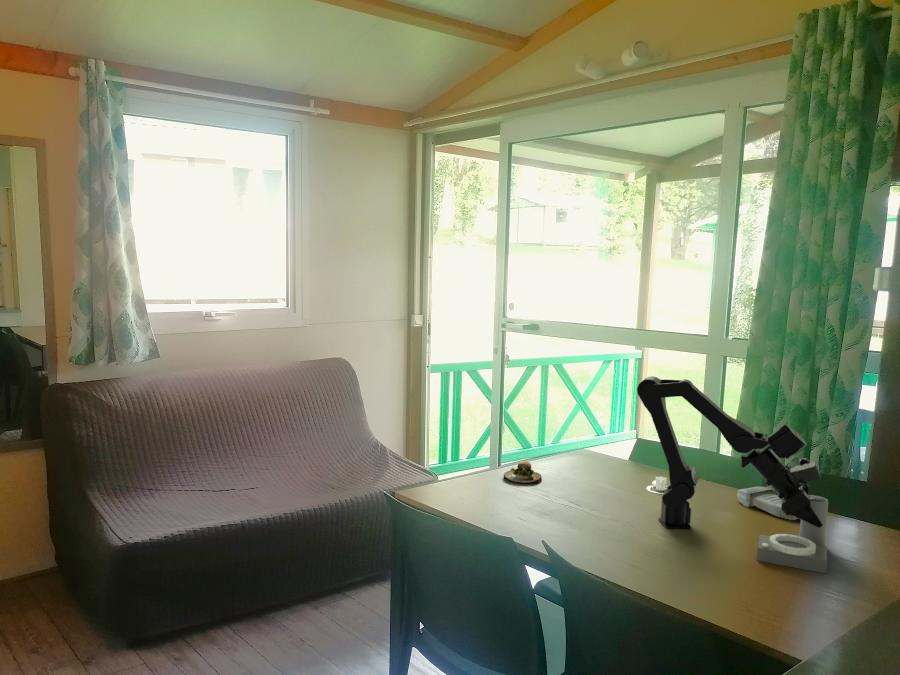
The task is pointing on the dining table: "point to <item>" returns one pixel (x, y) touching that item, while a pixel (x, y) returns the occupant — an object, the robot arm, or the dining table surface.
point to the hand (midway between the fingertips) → (820, 521)
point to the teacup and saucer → (658, 484)
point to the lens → (821, 511)
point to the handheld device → (763, 501)
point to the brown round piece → (523, 473)
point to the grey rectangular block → (792, 552)
